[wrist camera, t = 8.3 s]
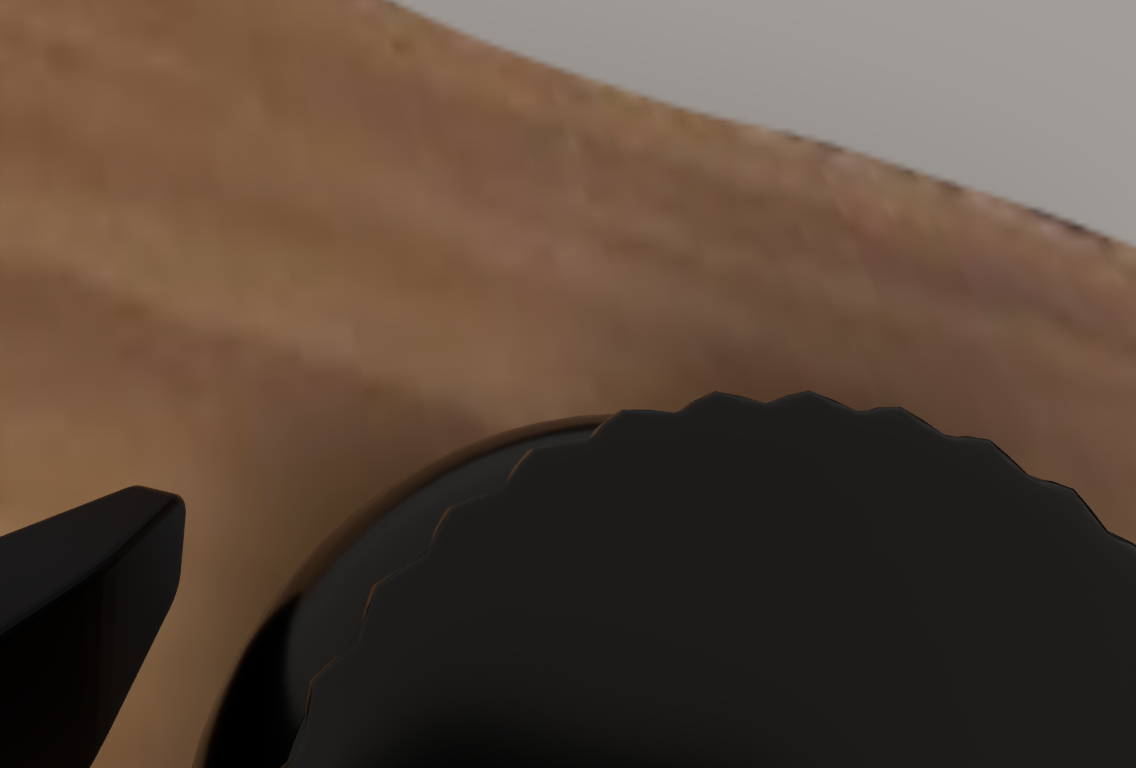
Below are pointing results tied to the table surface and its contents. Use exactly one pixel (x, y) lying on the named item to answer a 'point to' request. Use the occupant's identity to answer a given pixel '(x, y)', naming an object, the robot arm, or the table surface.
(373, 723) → the supplement bottle
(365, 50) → the table surface
